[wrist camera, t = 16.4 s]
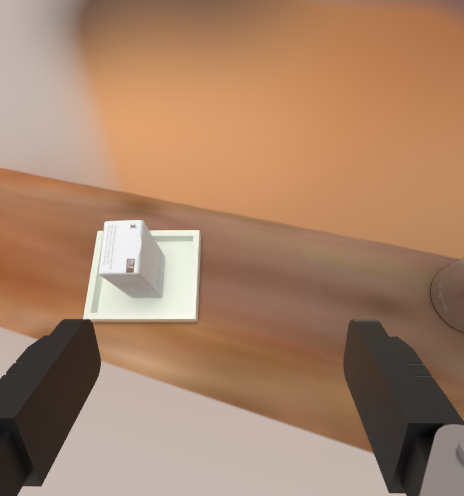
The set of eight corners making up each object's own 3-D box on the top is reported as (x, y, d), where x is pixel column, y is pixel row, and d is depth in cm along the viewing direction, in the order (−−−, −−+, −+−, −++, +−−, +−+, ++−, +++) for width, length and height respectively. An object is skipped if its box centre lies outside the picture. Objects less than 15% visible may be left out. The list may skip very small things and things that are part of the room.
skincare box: (135, 257, 46) (100, 217, 35) (167, 256, 46) (143, 216, 35) (131, 301, 44) (93, 274, 32) (165, 300, 44) (138, 273, 32)
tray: (201, 237, 47) (199, 230, 45) (197, 322, 43) (195, 319, 41) (104, 238, 48) (97, 231, 45) (91, 322, 43) (83, 319, 41)
